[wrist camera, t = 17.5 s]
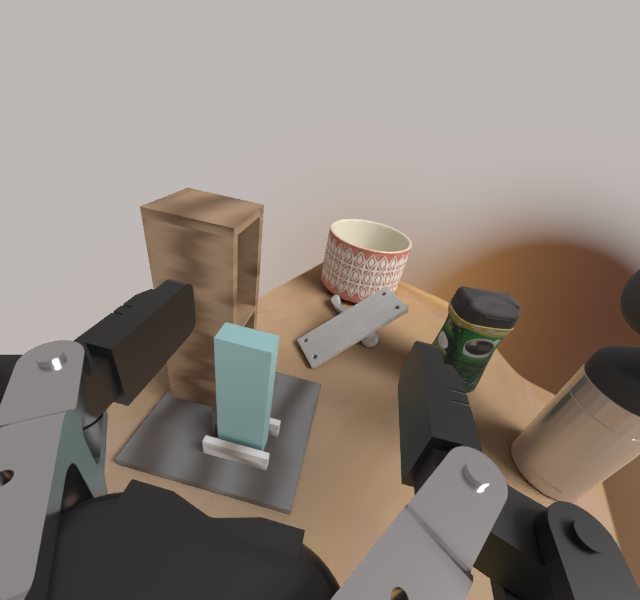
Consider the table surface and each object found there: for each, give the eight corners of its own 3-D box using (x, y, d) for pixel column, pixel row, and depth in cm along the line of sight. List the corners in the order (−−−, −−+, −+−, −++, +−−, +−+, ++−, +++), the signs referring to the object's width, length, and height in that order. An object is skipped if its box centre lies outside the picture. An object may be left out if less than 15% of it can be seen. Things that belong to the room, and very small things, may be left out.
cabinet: (320, 388, 49) (360, 223, 34) (289, 514, 34) (338, 318, 19) (198, 356, 51) (184, 184, 35) (116, 463, 35) (28, 241, 20)
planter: (348, 263, 90) (360, 214, 81) (405, 292, 80) (425, 241, 72) (304, 282, 76) (313, 226, 68) (366, 320, 67) (385, 260, 59)
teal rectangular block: (270, 432, 41) (282, 329, 31) (260, 457, 38) (271, 352, 28) (230, 421, 41) (230, 316, 31) (218, 445, 38) (213, 337, 28)
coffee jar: (462, 364, 60) (509, 285, 50) (478, 397, 53) (537, 314, 43) (414, 358, 59) (453, 276, 49) (425, 390, 53) (472, 304, 43)
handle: (324, 386, 57) (412, 332, 59) (310, 366, 52) (408, 307, 54) (292, 327, 70) (365, 283, 72) (278, 305, 64) (358, 258, 66)
